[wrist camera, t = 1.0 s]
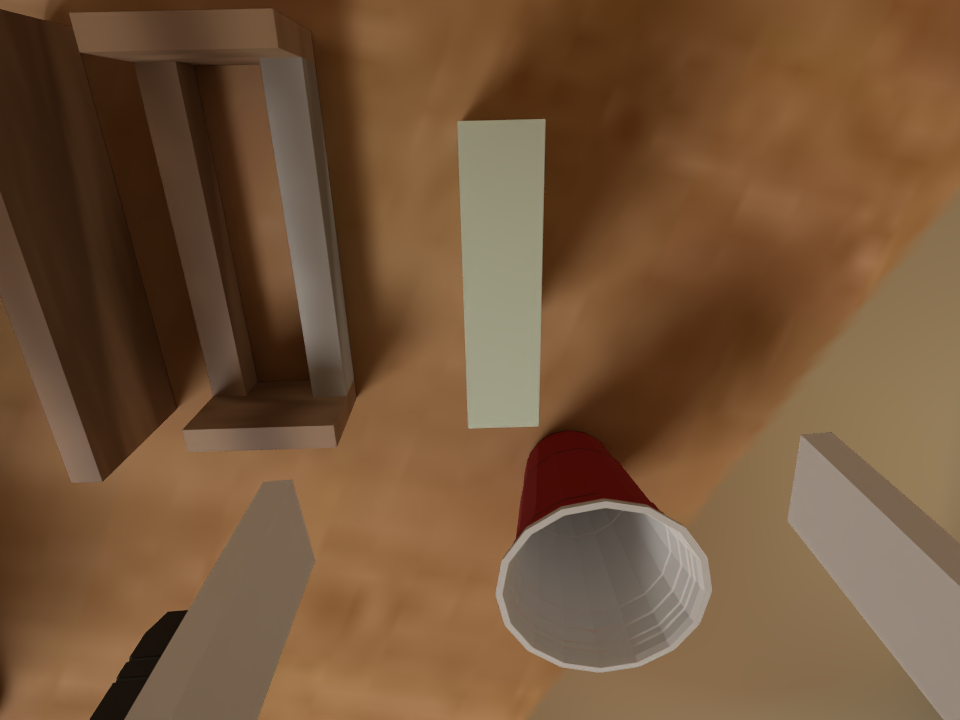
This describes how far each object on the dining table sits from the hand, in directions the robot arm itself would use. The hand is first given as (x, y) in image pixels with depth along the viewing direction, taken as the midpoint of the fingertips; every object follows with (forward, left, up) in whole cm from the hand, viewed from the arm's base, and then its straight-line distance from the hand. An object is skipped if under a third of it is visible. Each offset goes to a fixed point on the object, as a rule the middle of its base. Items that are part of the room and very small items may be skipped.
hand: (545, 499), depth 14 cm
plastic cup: (+4, -13, -21) cm, 25 cm away
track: (-16, +3, -20) cm, 26 cm away
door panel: (-1, +3, -21) cm, 21 cm away
